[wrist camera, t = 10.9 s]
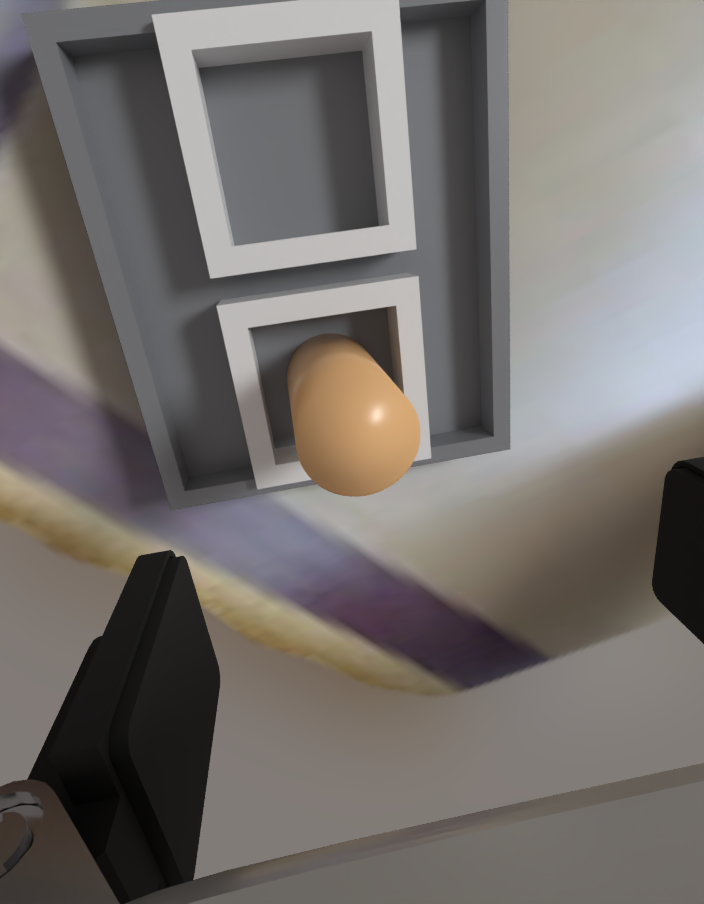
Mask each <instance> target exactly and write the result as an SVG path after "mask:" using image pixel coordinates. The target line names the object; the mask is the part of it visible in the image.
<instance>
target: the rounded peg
mask: <svg viewBox="0 0 704 904" xmlns="http://www.w3.org/2000/svg"><path fill="white" fill-rule="evenodd" d="M287 385H288V392H289V399H290V407H291V414H292V421H293V429H294V436H295V443H296V451H297V455H298V459H299V461H300V463H301V466H302V467H303V469H304V471H305V472H306V473H307V475H308V476H309V477H310V478H311V479H312V480H313V481H314V482H315V483H316V484H318V485H319V486H320V487H322V488H324V489H326V490H327V491H330V492H332V493H335V494H339V495H343V496H365V495H370V494H374V493H377V492H379V491H382V490H384V489H386V488H388V487H389V486H391V485H392V484H394V483H395V482H397V481H398V480H399V479H400V478H401V477H402V476H403V475H404V474H405V473H406V472H407V470H408V469H409V468H410V466H411V465H412V463H413V461H414V459H415V457H416V455H417V452H418V449H419V445H420V437H421V435H420V423H419V419H418V416H417V413H416V411H415V409H414V407H413V405H412V404H411V402H410V401H409V400H408V398H407V397H406V396H405V395H404V394H403V393H402V391H401V390H400V389H399V388H398V387H397V386H396V384H395V383H394V382H393V381H392V380H391V379H390V377H389V376H388V375H387V374H386V373H385V372H384V371H383V369H382V368H381V367H380V366H379V365H378V364H377V362H376V361H375V360H374V359H373V358H372V357H371V355H370V354H369V353H368V352H367V351H366V350H365V349H364V347H363V346H362V345H361V344H360V343H358V342H357V341H356V340H354V339H353V338H351V337H349V336H346V335H343V334H338V333H324V334H320V335H317V336H314V337H312V338H310V339H308V340H307V341H305V342H304V343H302V344H301V345H300V346H299V347H298V348H297V350H296V351H295V352H294V354H293V356H292V357H291V360H290V362H289V365H288V369H287Z"/></svg>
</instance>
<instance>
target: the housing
mask: <svg viewBox="0 0 704 904" xmlns="http://www.w3.org/2000/svg"><path fill="white" fill-rule="evenodd" d="M21 15H22V19H23V22H24V25H25V29H26V32H27V35H28V39H29V42H30V45H31V49H32V52H33V55H34V58H35V62H36V65H37V68H38V72H39V75H40V78H41V82H42V85H43V88H44V91H45V95H46V98H47V101H48V105H49V108H50V111H51V115H52V118H53V121H54V125H55V128H56V131H57V134H58V138H59V141H60V144H61V148H62V151H63V154H64V158H65V161H66V164H67V168H68V171H69V174H70V177H71V181H72V184H73V187H74V191H75V194H76V197H77V201H78V204H79V207H80V210H81V214H82V217H83V220H84V224H85V227H86V230H87V234H88V237H89V240H90V244H91V247H92V250H93V253H94V257H95V260H96V263H97V267H98V270H99V273H100V277H101V280H102V283H103V286H104V290H105V293H106V296H107V300H108V303H109V306H110V310H111V313H112V316H113V320H114V323H115V326H116V329H117V333H118V336H119V339H120V343H121V346H122V349H123V353H124V356H125V359H126V362H127V366H128V369H129V372H130V376H131V379H132V382H133V386H134V389H135V392H136V396H137V399H138V402H139V405H140V409H141V412H142V415H143V419H144V422H145V425H146V429H147V432H148V435H149V438H150V442H151V445H152V448H153V452H154V455H155V458H156V462H157V465H158V468H159V472H160V475H161V478H162V481H163V485H164V488H165V491H166V495H167V498H168V501H169V505H170V508H171V510H175V509H181V508H186V507H192V506H197V505H203V504H208V503H214V502H220V501H225V500H231V499H236V498H242V497H247V496H253V495H258V494H264V493H269V492H275V491H281V490H286V489H292V488H297V487H303V486H308V485H314V484H316V483H315V482H314V481H313V480H312V479H311V478H310V477H309V476H308V475H307V473H306V472H305V471H304V469H303V467H302V466H301V463H300V461H299V459H298V455H297V451H296V443H295V436H294V429H293V421H292V414H291V407H290V399H289V392H288V385H287V369H288V365H289V362H290V360H291V357H292V356H293V354H294V352H295V351H296V350H297V348H298V347H299V346H300V345H301V344H302V343H304V342H305V341H307V340H308V339H310V338H312V337H314V336H317V335H320V334H324V333H338V334H343V335H346V336H349V337H351V338H353V339H354V340H356V341H357V342H358V343H360V344H361V345H362V346H363V347H364V349H365V350H366V351H367V352H368V353H369V354H370V355H371V357H372V358H373V359H374V360H375V361H376V362H377V364H378V365H379V366H380V367H381V368H382V369H383V371H384V372H385V373H386V374H387V375H388V376H389V377H390V379H391V380H392V381H393V382H394V383H395V384H396V386H397V387H398V388H399V389H400V390H401V391H402V393H403V394H404V395H405V396H406V397H407V398H408V400H409V401H410V402H411V404H412V405H413V407H414V409H415V411H416V413H417V416H418V419H419V423H420V435H421V437H420V445H419V449H418V452H417V455H416V457H415V459H414V461H413V463H412V465H411V466H410V467H414V466H419V465H425V464H431V463H436V462H442V461H447V460H453V459H458V458H464V457H469V456H475V455H481V454H486V453H492V452H497V451H503V450H508V449H510V301H509V89H508V0H159V1H149V2H138V3H128V4H117V5H107V6H96V7H86V8H75V9H65V10H54V11H44V12H33V13H23V14H21Z"/></svg>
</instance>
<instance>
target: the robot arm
mask: <svg viewBox="0 0 704 904" xmlns="http://www.w3.org/2000/svg"><path fill="white" fill-rule="evenodd" d="M652 587H653V591H654V593H655V595H656V597H657V599H658V600H659V601H660V602H661V603H662V604H663V605H664V606H665V607H666V608H667V609H668V610H669V611H670V612H671V613H672V614H673V615H674V616H675V617H676V618H677V619H679V621H680V622H682V623H683V624H684V625H685V626H686V627H687V628H688V629H689V630H690V631H691V632H692V633H693V634H694V635H695V636H696V637H697V638H698V639H699V640H700V641H701V642H702V643H703V644H704V457H700V458H694V459H689V460H683V461H678V462H677V463H675V464H674V466H673V467H672V470H670V471H669V472H668V473H667V474H666V477H665V482H664V490H663V498H662V506H661V514H660V522H659V530H658V538H657V546H656V554H655V562H654V570H653V578H652ZM219 689H220V672H219V666H218V662H217V659H216V656H215V653H214V649H213V646H212V642H211V639H210V636H209V633H208V630H207V626H206V622H205V619H204V616H203V613H202V609H201V606H200V603H199V599H198V596H197V593H196V589H195V586H194V583H193V579H192V576H191V573H190V569H189V566H188V563H187V560H186V558H185V557H184V556H180V557H176V556H175V554H174V552H173V551H171V550H169V551H163V552H157V553H151V554H146V555H141V556H139V557H138V558H137V560H136V562H135V564H134V566H133V568H132V571H131V573H130V575H129V577H128V580H127V582H126V584H125V586H124V589H123V591H122V593H121V595H120V598H119V600H118V602H117V604H116V606H115V609H114V611H113V613H112V615H111V618H110V620H109V622H108V624H107V627H106V629H105V631H104V633H103V636H100V637H98V638H96V639H95V640H93V642H92V644H91V645H90V647H89V649H88V651H87V653H86V655H85V657H84V659H83V661H82V664H81V666H80V668H79V670H78V672H77V675H76V676H75V679H74V681H73V683H72V685H71V687H70V689H69V692H68V694H67V696H66V698H65V700H64V702H63V704H62V707H61V709H60V711H59V713H58V715H57V717H56V719H55V721H54V724H53V726H52V728H51V730H50V732H49V734H48V736H47V739H46V741H45V743H44V745H43V747H42V750H41V752H40V754H39V756H38V758H37V760H36V762H35V764H34V767H33V768H32V771H31V773H30V775H29V777H28V779H27V780H21V781H13V782H11V783H8V784H5V785H3V786H0V904H704V763H701V764H696V765H691V766H687V767H682V768H678V769H673V770H668V771H663V772H659V773H654V774H650V775H645V776H640V777H636V778H631V779H626V780H622V781H618V782H613V783H608V784H604V785H599V786H594V787H590V788H585V789H580V790H577V791H571V792H567V793H562V794H557V795H553V796H549V797H544V798H539V799H534V800H530V801H526V802H521V803H517V804H512V805H508V806H503V807H499V808H495V809H490V810H485V811H481V812H476V813H472V814H467V815H463V816H458V817H454V818H449V819H445V820H440V821H436V822H431V823H427V824H422V825H418V826H413V827H409V828H404V829H400V830H395V831H391V832H387V833H382V834H377V835H373V836H369V837H364V838H360V839H355V840H351V841H347V842H342V843H338V844H334V845H330V846H326V847H322V848H317V849H313V850H310V851H305V852H301V853H297V854H293V855H289V856H285V857H280V858H276V859H272V860H268V861H264V862H260V863H256V864H252V865H248V866H244V867H239V868H235V869H231V870H227V871H223V872H220V873H217V874H213V875H210V876H206V877H203V878H199V879H196V880H193V878H194V873H195V865H196V858H197V851H198V844H199V836H200V829H201V822H202V814H203V807H204V799H205V792H206V785H207V778H208V770H209V763H210V755H211V748H212V741H213V733H214V726H215V719H216V711H217V704H218V696H219Z"/></svg>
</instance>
